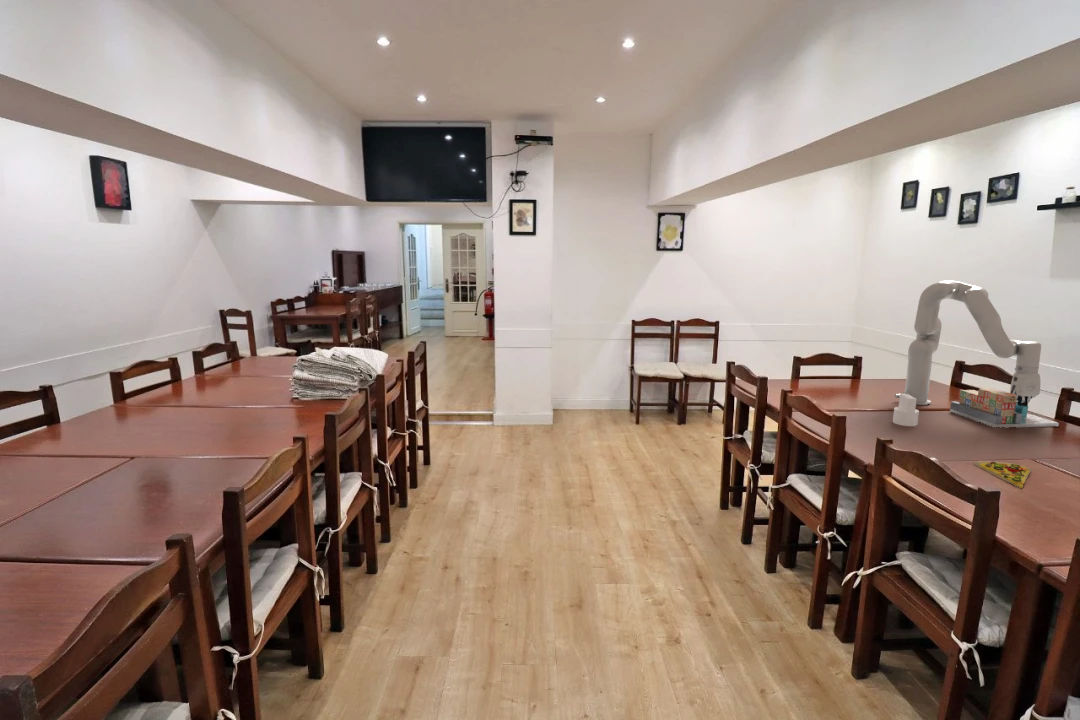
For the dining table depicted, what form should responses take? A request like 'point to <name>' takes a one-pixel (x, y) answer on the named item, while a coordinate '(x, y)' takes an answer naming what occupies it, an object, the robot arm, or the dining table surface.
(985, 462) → the pizza slice
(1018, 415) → the sliding jaw
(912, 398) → the base with upright slab
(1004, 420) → the stack of blocks
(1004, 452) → the dining table surface
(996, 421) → the base
